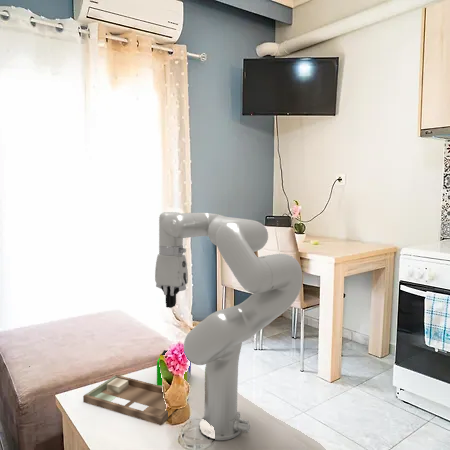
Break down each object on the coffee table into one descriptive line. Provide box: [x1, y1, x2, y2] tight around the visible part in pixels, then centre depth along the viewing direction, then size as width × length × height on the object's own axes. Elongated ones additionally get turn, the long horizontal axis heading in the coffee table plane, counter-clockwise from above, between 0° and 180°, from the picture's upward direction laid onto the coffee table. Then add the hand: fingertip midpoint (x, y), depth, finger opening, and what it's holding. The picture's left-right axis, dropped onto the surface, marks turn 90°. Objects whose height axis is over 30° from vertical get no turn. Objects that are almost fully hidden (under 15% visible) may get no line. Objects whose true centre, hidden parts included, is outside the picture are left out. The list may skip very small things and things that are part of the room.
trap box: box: [83, 374, 169, 426], centre depth 130 cm, size 29×16×4 cm, turn 66°
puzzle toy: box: [156, 349, 192, 387], centre depth 144 cm, size 10×10×10 cm
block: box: [107, 378, 128, 394], centre depth 136 cm, size 5×5×2 cm
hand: (170, 306), depth 131 cm, fingers closed
